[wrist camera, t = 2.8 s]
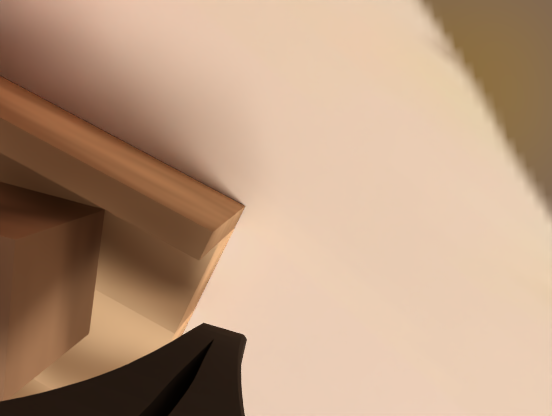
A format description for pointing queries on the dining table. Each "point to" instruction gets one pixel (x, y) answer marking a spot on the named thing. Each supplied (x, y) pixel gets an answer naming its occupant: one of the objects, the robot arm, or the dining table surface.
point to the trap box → (117, 231)
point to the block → (43, 280)
